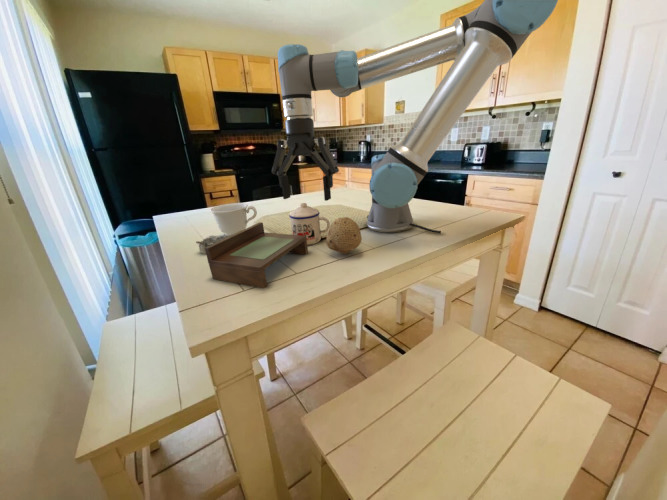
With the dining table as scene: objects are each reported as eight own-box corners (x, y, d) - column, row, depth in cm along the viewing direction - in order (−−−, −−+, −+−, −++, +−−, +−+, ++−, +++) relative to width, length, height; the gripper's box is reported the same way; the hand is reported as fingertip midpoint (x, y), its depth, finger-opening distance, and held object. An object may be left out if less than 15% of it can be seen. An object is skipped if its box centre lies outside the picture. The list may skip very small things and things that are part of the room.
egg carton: (197, 255, 80) (193, 242, 78) (208, 245, 87) (204, 233, 85) (233, 252, 79) (230, 239, 78) (241, 243, 86) (238, 230, 85)
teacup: (255, 239, 88) (250, 209, 85) (210, 242, 89) (203, 212, 85) (264, 228, 100) (260, 201, 96) (224, 230, 100) (218, 204, 96)
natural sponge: (369, 252, 72) (369, 216, 68) (345, 263, 67) (343, 225, 63) (346, 244, 79) (344, 211, 75) (322, 254, 73) (319, 218, 70)
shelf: (308, 252, 75) (304, 225, 72) (264, 288, 59) (257, 254, 55) (264, 247, 81) (259, 222, 78) (212, 278, 64) (204, 247, 61)
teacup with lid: (288, 245, 81) (283, 207, 77) (297, 235, 89) (293, 200, 85) (328, 245, 79) (324, 206, 75) (333, 235, 87) (330, 199, 83)
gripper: (251, 122, 73) (264, 200, 81) (337, 113, 63) (341, 203, 71) (268, 122, 79) (278, 195, 87) (348, 114, 69) (351, 197, 78)
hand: (306, 199), depth 79 cm, fingers open, 13 cm apart
